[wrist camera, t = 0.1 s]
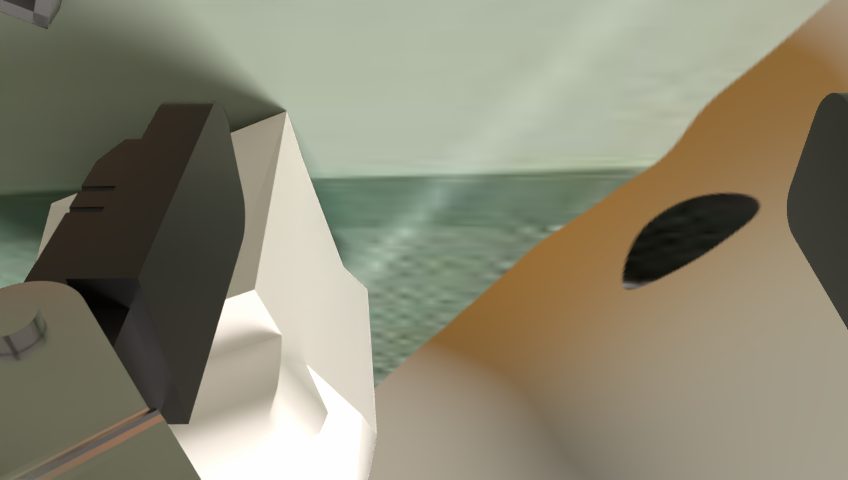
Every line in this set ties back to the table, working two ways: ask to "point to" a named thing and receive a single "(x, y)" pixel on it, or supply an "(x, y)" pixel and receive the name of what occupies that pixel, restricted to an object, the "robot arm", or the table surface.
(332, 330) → the folded paper
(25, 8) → the desk tray
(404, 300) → the table surface
